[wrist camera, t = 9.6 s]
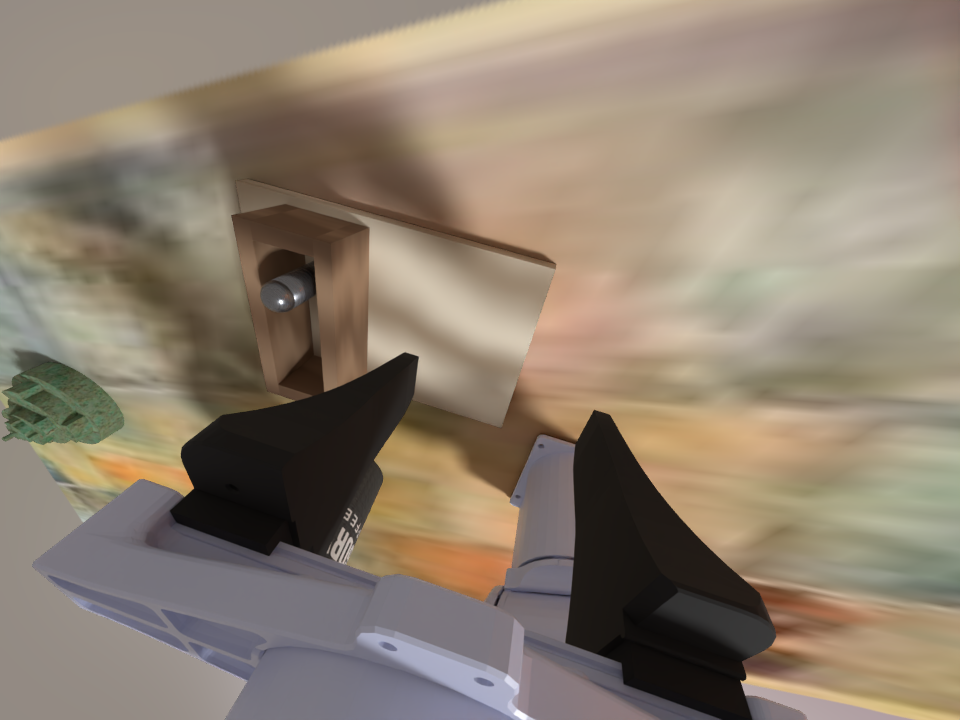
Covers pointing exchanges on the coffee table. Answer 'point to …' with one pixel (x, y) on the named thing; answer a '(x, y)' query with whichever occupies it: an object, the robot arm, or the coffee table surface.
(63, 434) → the decorative artifact
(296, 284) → the peg
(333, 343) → the walnut link
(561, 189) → the coffee table surface
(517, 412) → the coffee table surface
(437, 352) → the birch board
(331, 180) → the coffee table surface
